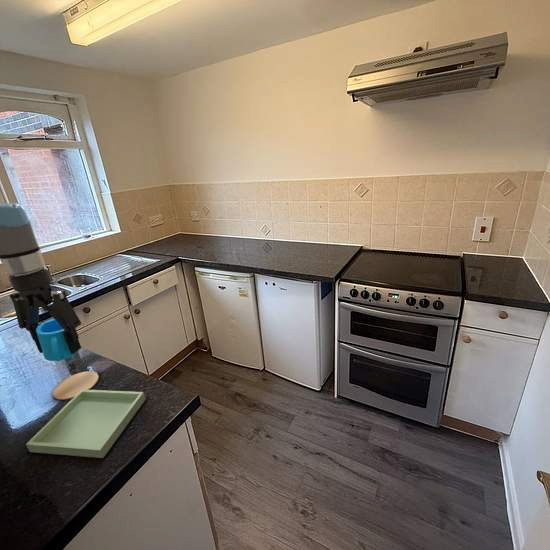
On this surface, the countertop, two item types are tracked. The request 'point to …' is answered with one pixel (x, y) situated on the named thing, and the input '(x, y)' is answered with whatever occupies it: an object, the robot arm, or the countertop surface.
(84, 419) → the tray
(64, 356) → the mug
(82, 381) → the coaster
